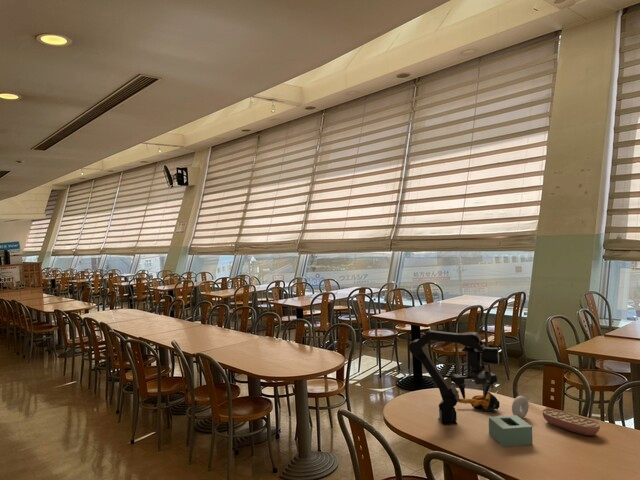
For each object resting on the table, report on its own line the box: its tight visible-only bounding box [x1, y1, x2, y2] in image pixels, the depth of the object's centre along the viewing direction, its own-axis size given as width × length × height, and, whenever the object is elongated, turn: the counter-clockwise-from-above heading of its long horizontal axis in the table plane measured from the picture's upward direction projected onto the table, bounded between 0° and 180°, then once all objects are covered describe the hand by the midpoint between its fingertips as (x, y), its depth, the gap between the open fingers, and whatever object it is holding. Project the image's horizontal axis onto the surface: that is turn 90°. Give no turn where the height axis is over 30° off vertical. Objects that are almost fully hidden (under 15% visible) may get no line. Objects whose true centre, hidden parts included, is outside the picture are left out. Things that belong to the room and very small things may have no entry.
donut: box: [511, 395, 530, 420], centre depth 208 cm, size 10×4×10 cm, turn 124°
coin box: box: [488, 414, 534, 448], centre depth 188 cm, size 12×12×7 cm
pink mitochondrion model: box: [542, 408, 601, 437], centre depth 196 cm, size 23×10×5 cm, turn 33°
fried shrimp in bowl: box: [457, 391, 501, 412], centre depth 220 cm, size 9×11×18 cm
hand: (474, 398), depth 202 cm, fingers open, 9 cm apart
